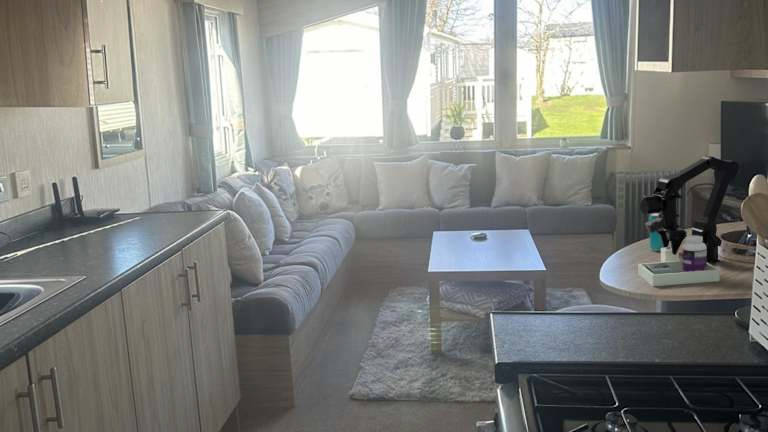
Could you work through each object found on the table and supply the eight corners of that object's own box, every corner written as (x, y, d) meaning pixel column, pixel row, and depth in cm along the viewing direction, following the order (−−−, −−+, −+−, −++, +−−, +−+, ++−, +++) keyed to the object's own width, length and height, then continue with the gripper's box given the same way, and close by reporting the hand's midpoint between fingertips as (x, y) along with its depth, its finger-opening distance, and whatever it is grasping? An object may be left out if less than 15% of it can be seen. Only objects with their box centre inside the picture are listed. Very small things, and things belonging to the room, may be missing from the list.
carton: (674, 264, 288) (673, 245, 286) (679, 267, 283) (678, 248, 281) (661, 265, 288) (660, 246, 286) (665, 269, 283) (665, 249, 282)
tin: (664, 276, 274) (664, 263, 273) (671, 281, 268) (671, 267, 267) (646, 277, 275) (645, 264, 274) (652, 282, 268) (652, 269, 267)
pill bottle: (678, 274, 274) (677, 236, 271) (699, 272, 275) (699, 233, 272) (689, 280, 266) (688, 240, 264) (711, 278, 267) (710, 238, 264)
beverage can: (665, 251, 307) (665, 215, 305) (651, 251, 309) (650, 216, 306) (663, 248, 313) (662, 212, 310) (649, 248, 314) (648, 213, 311)
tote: (701, 269, 278) (701, 258, 277) (719, 281, 262) (719, 269, 262) (638, 274, 279) (638, 264, 278) (652, 286, 263) (652, 275, 262)
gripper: (639, 208, 291) (640, 247, 294) (655, 217, 273) (656, 259, 275) (668, 206, 290) (669, 245, 293) (686, 214, 272) (687, 256, 275)
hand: (669, 251), depth 284 cm, fingers open, 9 cm apart
